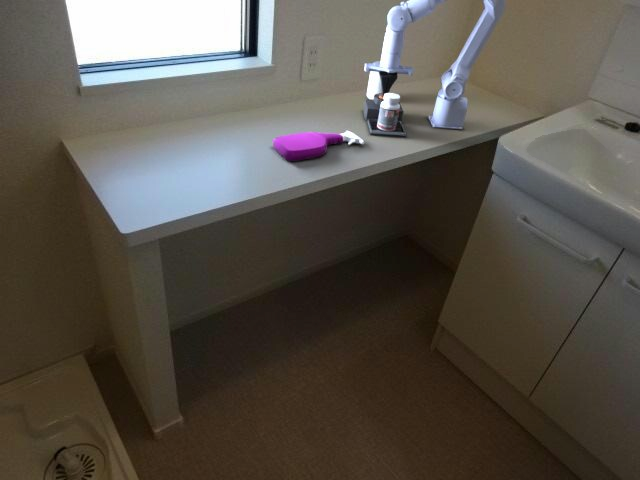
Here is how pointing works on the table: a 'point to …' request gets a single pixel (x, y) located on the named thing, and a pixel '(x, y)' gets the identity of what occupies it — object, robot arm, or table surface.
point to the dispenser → (376, 108)
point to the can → (374, 84)
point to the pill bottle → (389, 112)
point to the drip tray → (376, 131)
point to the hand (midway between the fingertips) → (384, 96)
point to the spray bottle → (310, 144)
